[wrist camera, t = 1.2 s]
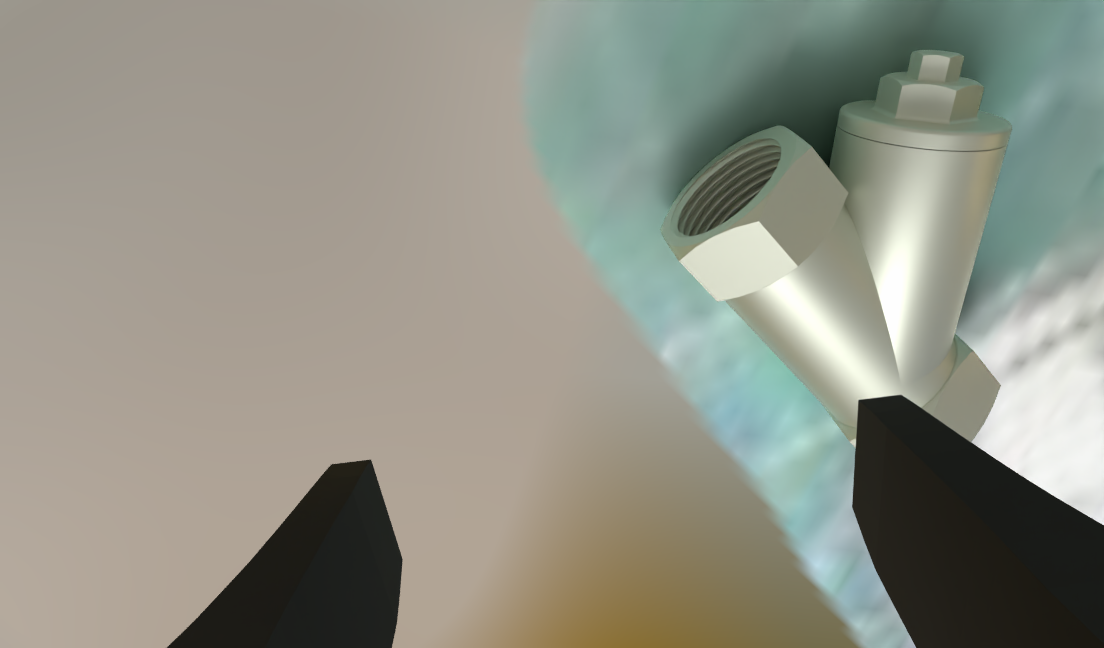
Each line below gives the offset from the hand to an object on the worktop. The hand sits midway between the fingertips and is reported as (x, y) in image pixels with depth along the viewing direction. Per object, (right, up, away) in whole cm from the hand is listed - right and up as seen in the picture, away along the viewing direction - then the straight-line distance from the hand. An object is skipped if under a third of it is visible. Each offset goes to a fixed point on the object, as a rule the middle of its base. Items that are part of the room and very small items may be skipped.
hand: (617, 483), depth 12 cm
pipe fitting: (+7, +5, +8) cm, 11 cm away
